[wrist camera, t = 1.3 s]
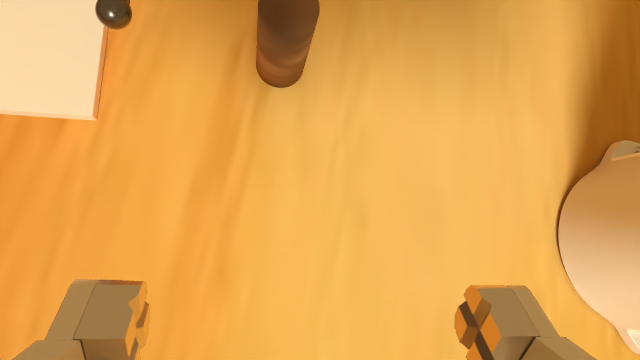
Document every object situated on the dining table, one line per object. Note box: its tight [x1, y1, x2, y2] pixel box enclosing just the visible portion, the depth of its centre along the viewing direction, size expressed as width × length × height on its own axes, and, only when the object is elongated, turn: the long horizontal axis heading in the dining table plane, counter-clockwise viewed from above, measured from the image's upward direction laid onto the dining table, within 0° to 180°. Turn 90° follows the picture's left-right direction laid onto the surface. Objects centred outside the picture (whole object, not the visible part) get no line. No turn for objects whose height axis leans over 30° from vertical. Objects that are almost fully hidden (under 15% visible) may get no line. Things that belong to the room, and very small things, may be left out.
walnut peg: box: [256, 0, 319, 88], centre depth 33 cm, size 4×4×9 cm
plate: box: [0, 0, 108, 120], centre depth 34 cm, size 12×12×1 cm
